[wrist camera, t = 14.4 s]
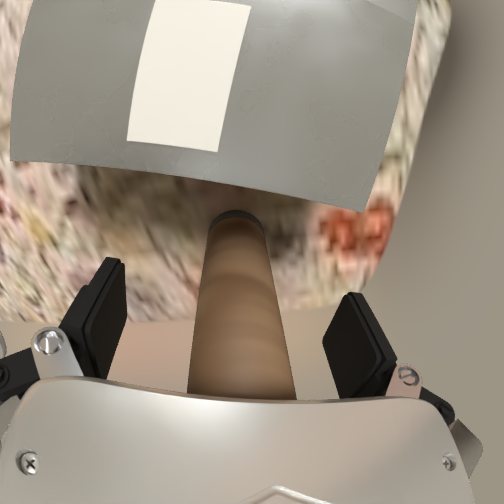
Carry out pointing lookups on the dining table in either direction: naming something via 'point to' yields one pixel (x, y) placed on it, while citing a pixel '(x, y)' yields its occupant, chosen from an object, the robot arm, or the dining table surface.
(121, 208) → the dining table surface
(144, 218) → the dining table surface
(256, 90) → the box
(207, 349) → the brown rounded rod
